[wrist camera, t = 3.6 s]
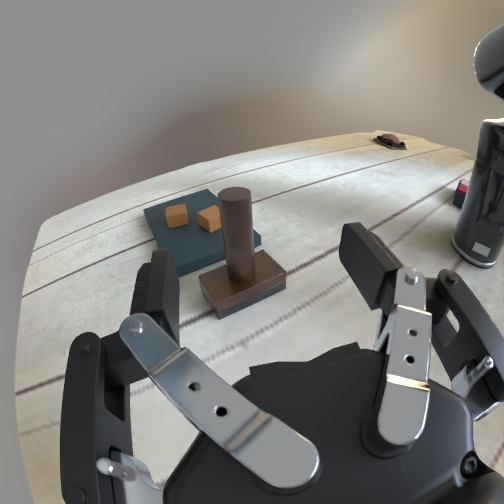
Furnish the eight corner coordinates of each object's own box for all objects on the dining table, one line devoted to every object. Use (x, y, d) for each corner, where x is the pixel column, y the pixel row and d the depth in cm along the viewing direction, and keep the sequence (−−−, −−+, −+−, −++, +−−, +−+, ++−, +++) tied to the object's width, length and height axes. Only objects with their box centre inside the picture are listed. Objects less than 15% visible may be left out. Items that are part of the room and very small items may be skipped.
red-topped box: (460, 176, 48) (512, 198, 38) (457, 192, 50) (507, 215, 41) (456, 187, 42) (515, 215, 33) (451, 206, 45) (509, 233, 35)
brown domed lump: (371, 140, 81) (372, 130, 79) (389, 140, 82) (390, 131, 80) (390, 149, 72) (391, 138, 70) (408, 150, 74) (410, 139, 71)
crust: (187, 214, 40) (185, 203, 39) (188, 224, 38) (186, 212, 37) (168, 218, 40) (165, 207, 39) (168, 228, 38) (165, 216, 36)
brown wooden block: (216, 216, 39) (214, 204, 38) (228, 224, 38) (227, 211, 36) (198, 224, 38) (196, 212, 37) (210, 233, 36) (208, 220, 35)
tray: (208, 196, 48) (207, 188, 48) (261, 244, 36) (261, 235, 35) (145, 216, 44) (143, 209, 43) (174, 279, 31) (171, 269, 31)
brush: (263, 266, 33) (260, 174, 26) (285, 288, 29) (289, 191, 22) (201, 292, 30) (180, 197, 23) (219, 319, 26) (199, 219, 19)
